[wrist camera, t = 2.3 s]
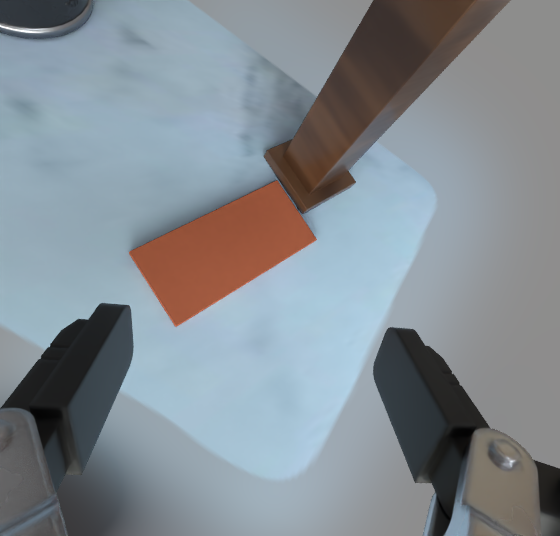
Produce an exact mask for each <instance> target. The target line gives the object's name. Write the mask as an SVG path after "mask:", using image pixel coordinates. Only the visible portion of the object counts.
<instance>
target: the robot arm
mask: <svg viewBox="0 0 560 536" xmlns="http://www.w3.org/2000/svg"><path fill="white" fill-rule="evenodd" d="M92 8H93V0H0V32H1V33H4V34H8V35H12V36H17V37H23V38H33V39H43V38H53V37H58V36H62V35H65V34H68V33H70V32H73V31H74V30H76V29H78V28H79V27H81V26H82V25H83V24H84V23H85V22H86V21H87V19H88V18H89V16H90V14H91V12H92ZM132 356H133V332H132V318H131V309H130V306H129V305H119V304H107V303H101V304H99V306H98V307H97V308H96V310H95V311H94V313H93V314H92V315H91V317H90V318H89V320H85V319H78V320H76V321H75V322H73V323H72V324H70V325H69V326H67V327H66V328H64V329H63V330H61V331H60V333H59V334H58V335H57V336H56V338H55V339H54V340H53V342H52V343H51V344H50V347H48V348H47V349H46V351H45V352H44V353H43V354H42V356H41V359H39V360H38V361H37V362H36V363H35V365H34V366H33V367H32V369H31V370H30V371H29V372H28V374H27V375H26V376H25V378H24V379H23V380H22V381H21V383H20V384H19V385H18V387H17V388H16V389H15V390H14V392H13V393H12V394H11V396H10V397H9V398H8V399H7V401H6V402H5V403H4V405H3V406H2V407H1V408H0V536H68V533H67V530H66V527H65V523H64V519H63V516H62V512H61V508H60V505H59V501H58V497H57V494H56V493H57V490H58V488H59V486H60V484H61V482H62V480H63V478H64V476H65V474H73V475H82V473H83V471H84V468H85V466H86V464H87V462H88V459H89V457H90V455H91V453H92V450H93V448H94V446H95V444H96V441H97V439H98V437H99V435H100V432H101V430H102V428H103V425H104V423H105V421H106V419H107V416H108V414H109V412H110V410H111V407H112V405H113V403H114V401H115V398H116V396H117V394H118V391H119V389H120V387H121V385H122V382H123V380H124V378H125V376H126V373H127V371H128V369H129V366H130V364H131V360H132ZM373 375H374V380H375V383H376V386H377V388H378V391H379V393H380V396H381V398H382V401H383V403H384V406H385V408H386V411H387V413H388V416H389V418H390V421H391V424H392V426H393V428H394V431H395V434H396V436H397V439H398V441H399V444H400V446H401V449H402V451H403V454H404V456H405V458H406V461H407V464H408V466H409V469H410V471H411V474H412V476H413V479H414V481H415V483H432V485H433V487H434V489H435V493H434V495H433V496H432V499H431V503H430V507H429V512H428V516H427V520H426V525H425V528H424V532H423V536H560V469H559V468H556V467H553V466H550V465H547V464H544V463H541V462H538V461H535V460H533V459H532V457H531V456H530V454H529V453H528V452H527V451H526V450H525V449H524V448H523V447H522V446H521V445H520V444H519V443H518V442H517V441H515V440H514V439H513V438H511V437H510V436H508V435H506V434H504V433H502V432H500V431H498V430H495V429H491V428H490V427H489V426H488V424H487V423H486V421H485V420H484V418H483V417H482V415H481V414H480V412H479V411H478V409H477V408H476V406H475V405H474V404H473V402H472V401H471V399H470V398H469V396H468V395H467V393H466V392H465V390H464V389H463V387H462V386H460V385H459V381H458V380H457V378H456V377H455V375H454V374H452V371H451V370H450V368H449V367H448V365H447V364H446V362H445V361H444V359H443V358H442V357H441V356H440V355H439V354H437V353H436V352H435V351H434V350H433V349H432V348H430V347H429V346H425V345H424V343H423V342H422V340H421V339H420V337H419V335H418V334H417V332H416V331H415V330H413V329H405V328H393V327H392V328H391V327H390V328H388V329H387V331H386V333H385V335H384V338H383V341H382V343H381V346H380V349H379V351H378V354H377V357H376V359H375V362H374V367H373Z"/></svg>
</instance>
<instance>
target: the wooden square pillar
mask: <svg viewBox="0 0 560 536" xmlns="http://www.w3.org/2000/svg"><path fill="white" fill-rule="evenodd" d="M509 1H510V0H374V1H373V2H372V4H371V5H370V7H369V9H368V11H367V13H366V14H365V16H364V17H363V19H362V21H361V23H360V24H359V26H358V28H357V30H356V31H355V33H354V35H353V37H352V38H351V40H350V42H349V43H348V45H347V47H346V48H345V50H344V52H343V54H342V55H341V57H340V59H339V61H338V62H337V64H336V66H335V67H334V69H333V71H332V73H331V74H330V76H329V78H328V79H327V81H326V83H325V85H324V87H323V88H322V90H321V92H320V93H319V95H318V97H317V98H316V100H315V102H314V104H313V105H312V107H311V109H310V110H309V112H308V114H307V116H306V117H305V119H304V121H303V123H302V124H301V126H300V128H299V129H298V131H297V133H296V135H295V136H294V138H293V139H292V140H290V141H287V142H285V143H283V144H280V145H278V146H276V147H273V148H271V149H269V150H267V151H266V153H265V155H264V158H265V159H266V161H267V162H268V164H269V165H270V167H271V168H272V170H273V171H274V173H275V174H276V176H277V177H278V179H279V180H280V182H281V183H282V185H283V186H284V188H285V189H286V191H287V192H288V194H289V195H290V196H291V198H292V199H293V201H294V202H295V204H296V205H297V207H298V208H299V210H300V211H301V213H302V214H304V213H306V212H308V211H309V210H311V209H313V208H315V207H317V206H318V205H320V204H322V203H324V202H325V201H327V200H329V199H331V198H333V197H334V196H336V195H338V194H340V193H341V192H343V191H345V190H347V189H349V188H350V187H352V186H353V185H354V184H355V183H356V181H355V180H354V178H353V177H352V175H351V174H350V173H349V171H348V170H349V169H350V168H351V167H352V166H353V165H354V164H355V163H356V162H357V161H358V160H359V159H360V158H361V157H362V156H363V155H364V153H365V152H366V151H367V150H368V149H369V148H370V147H371V146H372V145H373V144H374V143H375V142H376V141H377V140H378V139H379V138H380V137H381V136H382V135H383V134H384V133H385V131H386V130H387V129H388V128H389V127H390V126H391V125H392V124H393V123H394V122H395V121H396V120H397V119H398V118H399V117H400V116H401V115H402V114H403V113H404V112H405V110H406V109H407V108H408V107H409V106H410V105H411V104H412V103H413V102H414V101H415V100H416V99H417V98H418V97H419V96H420V94H422V93H423V92H424V91H425V89H426V88H427V87H428V86H429V85H430V84H431V83H432V82H433V81H434V80H435V79H436V78H437V77H438V76H439V75H440V74H441V73H442V71H444V69H446V67H447V66H448V65H449V64H450V63H451V62H452V61H453V60H454V59H455V58H456V57H457V56H458V55H459V54H460V53H461V52H462V51H463V49H465V48H466V46H467V45H468V44H469V43H470V42H471V41H472V40H473V39H474V38H475V37H476V36H477V35H478V34H479V33H480V32H481V31H482V30H483V29H484V28H485V27H486V25H487V24H488V23H489V22H490V21H491V20H492V19H493V18H494V17H495V16H496V15H497V14H498V13H499V12H500V11H501V10H502V9H503V8H504V7H505V6H506V5H507V3H508V2H509Z"/></svg>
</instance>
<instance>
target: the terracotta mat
mask: <svg viewBox="0 0 560 536" xmlns="http://www.w3.org/2000/svg"><path fill="white" fill-rule="evenodd" d="M316 240H317V239H316V237H315V236H314V234H313V233H312V231H311V230H310V228H309V227H308V225H307V224H306V222H305V221H304V219H303V218H302V217H301V215H300V214H299V212H298V211H297V209H296V208H295V206H294V205H293V203H292V202H291V200H290V199H289V197H288V196H287V194H286V193H285V191H284V190H283V188H282V187H281V185H280V184H279V182H278V181H277V180H276V181H274V182H272V183H270V184H268V185H266V186H264V187H262V188H260V189H258V190H256V191H254V192H252V193H250V194H247V195H245V196H243V197H241V198H239V199H237V200H235V201H233V202H231V203H229V204H227V205H225V206H223V207H221V208H219V209H216V210H214V211H212V212H210V213H208V214H206V215H204V216H202V217H200V218H198V219H196V220H194V221H192V222H190V223H188V224H185V225H183V226H181V227H179V228H177V229H175V230H173V231H171V232H169V233H167V234H165V235H163V236H161V237H159V238H157V239H154V240H152V241H150V242H148V243H146V244H144V245H142V246H140V247H138V248H136V249H134V250H132V251H130V252H129V254H130V256H131V257H132V259H133V261H134V262H135V264H136V265H137V267H138V268H139V270H140V272H141V273H142V275H143V276H144V278H145V279H146V281H147V283H148V284H149V286H150V287H151V289H152V290H153V292H154V294H155V295H156V297H157V298H158V300H159V302H160V303H161V305H162V306H163V308H164V309H165V311H166V313H167V314H168V316H169V317H170V319H171V320H172V322H173V324H174V325H175V327H177V326H178V325H180V324H182V323H183V322H185V321H186V320H188V319H190V318H191V317H193V316H194V315H196V314H198V313H199V312H201V311H203V310H204V309H206V308H207V307H209V306H211V305H212V304H214V303H215V302H217V301H219V300H220V299H222V298H224V297H225V296H227V295H228V294H230V293H232V292H233V291H235V290H237V289H238V288H240V287H241V286H243V285H245V284H246V283H248V282H249V281H251V280H253V279H254V278H256V277H258V276H259V275H261V274H262V273H264V272H266V271H267V270H269V269H271V268H272V267H274V266H275V265H277V264H279V263H280V262H282V261H283V260H285V259H287V258H288V257H290V256H292V255H293V254H295V253H296V252H298V251H300V250H301V249H303V248H304V247H306V246H308V245H309V244H311V243H313V242H314V241H316Z"/></svg>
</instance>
